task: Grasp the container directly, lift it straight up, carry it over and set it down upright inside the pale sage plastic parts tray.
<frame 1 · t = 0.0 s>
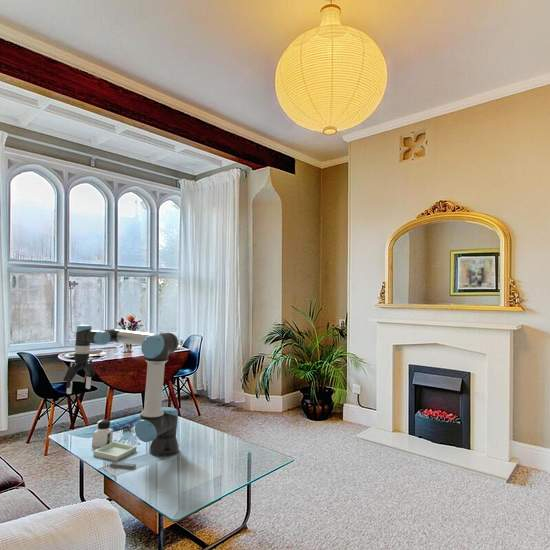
hand: (78, 391, 228), 28 cm above the table, fingers open, 13 cm apart
parts tray: (115, 453, 216), on the table
container: (101, 444, 226), on the table
puller tool: (122, 467, 201), on the table
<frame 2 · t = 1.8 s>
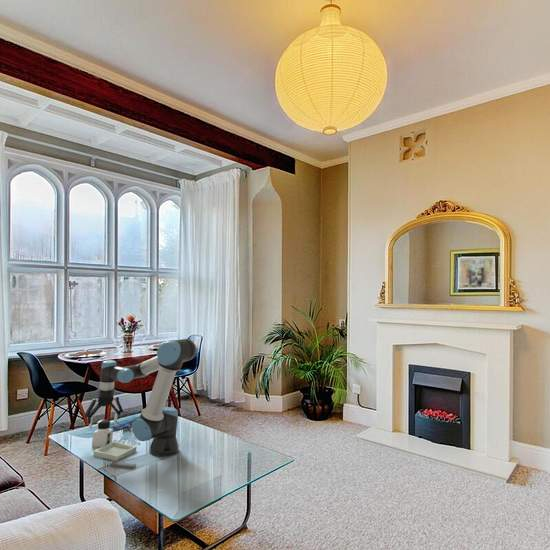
hand: (102, 427, 226), 9 cm above the table, fingers open, 13 cm apart
nothing on the table moved.
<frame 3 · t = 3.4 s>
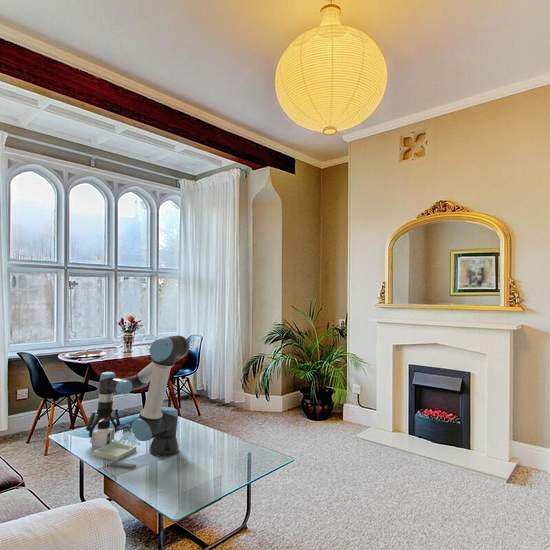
hand: (102, 440, 226), 2 cm above the table, fingers closed on container, 10 cm apart
container: (101, 444, 226), on the table, touching gripper
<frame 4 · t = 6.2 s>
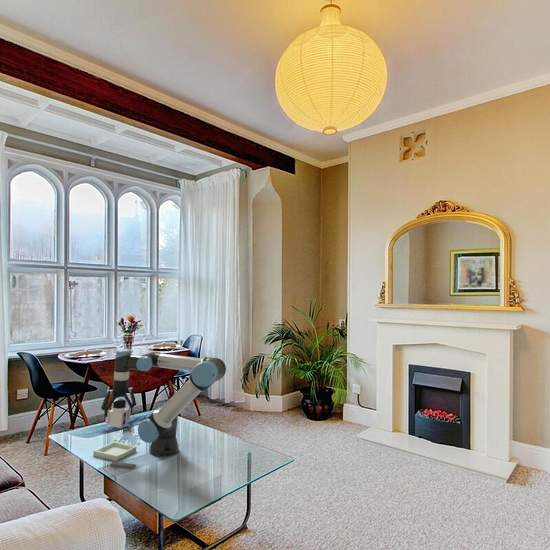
hand: (117, 421, 216), 17 cm above the table, fingers closed on container, 10 cm apart
container: (117, 425, 216), point 15 cm above the table, touching gripper
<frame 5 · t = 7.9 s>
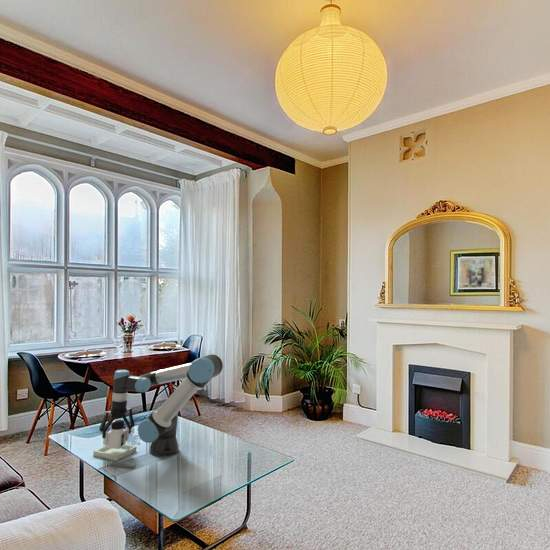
hand: (115, 442, 216), 6 cm above the table, fingers closed on container, 10 cm apart
container: (115, 446, 216), point 4 cm above the table, touching gripper
when the fingers open (4 cm above the table, at t = 9.3 s): container drops 2 cm, resting on parts tray.
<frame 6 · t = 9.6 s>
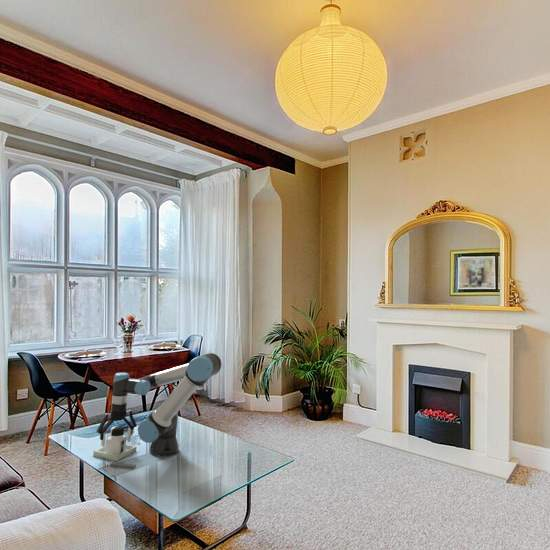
hand: (115, 443, 216), 5 cm above the table, fingers open, 13 cm apart
container: (115, 452, 216), resting on parts tray
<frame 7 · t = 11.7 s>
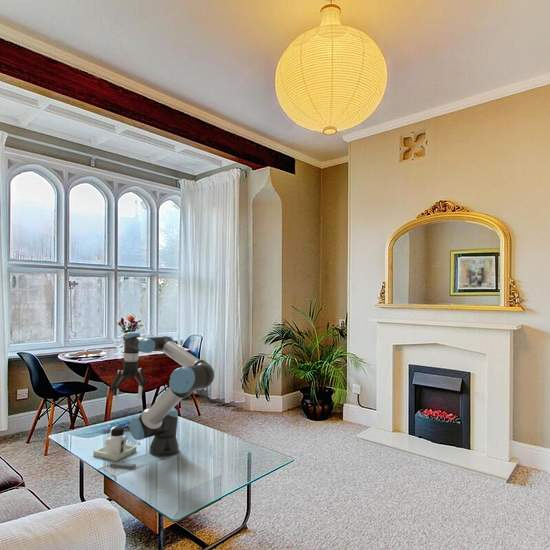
hand: (128, 399, 224), 26 cm above the table, fingers open, 13 cm apart
nothing on the table moved.
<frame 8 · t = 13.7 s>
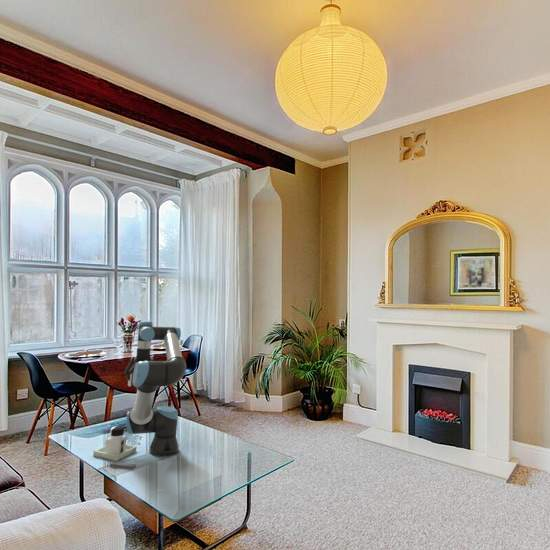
hand: (140, 384, 236), 32 cm above the table, fingers open, 13 cm apart
nothing on the table moved.
at the end: container inside the target area on the parts tray (0.0 cm from its centre), point 0.4 cm above the parts tray's base; container tilted 0°; the gripper is holding nothing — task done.
